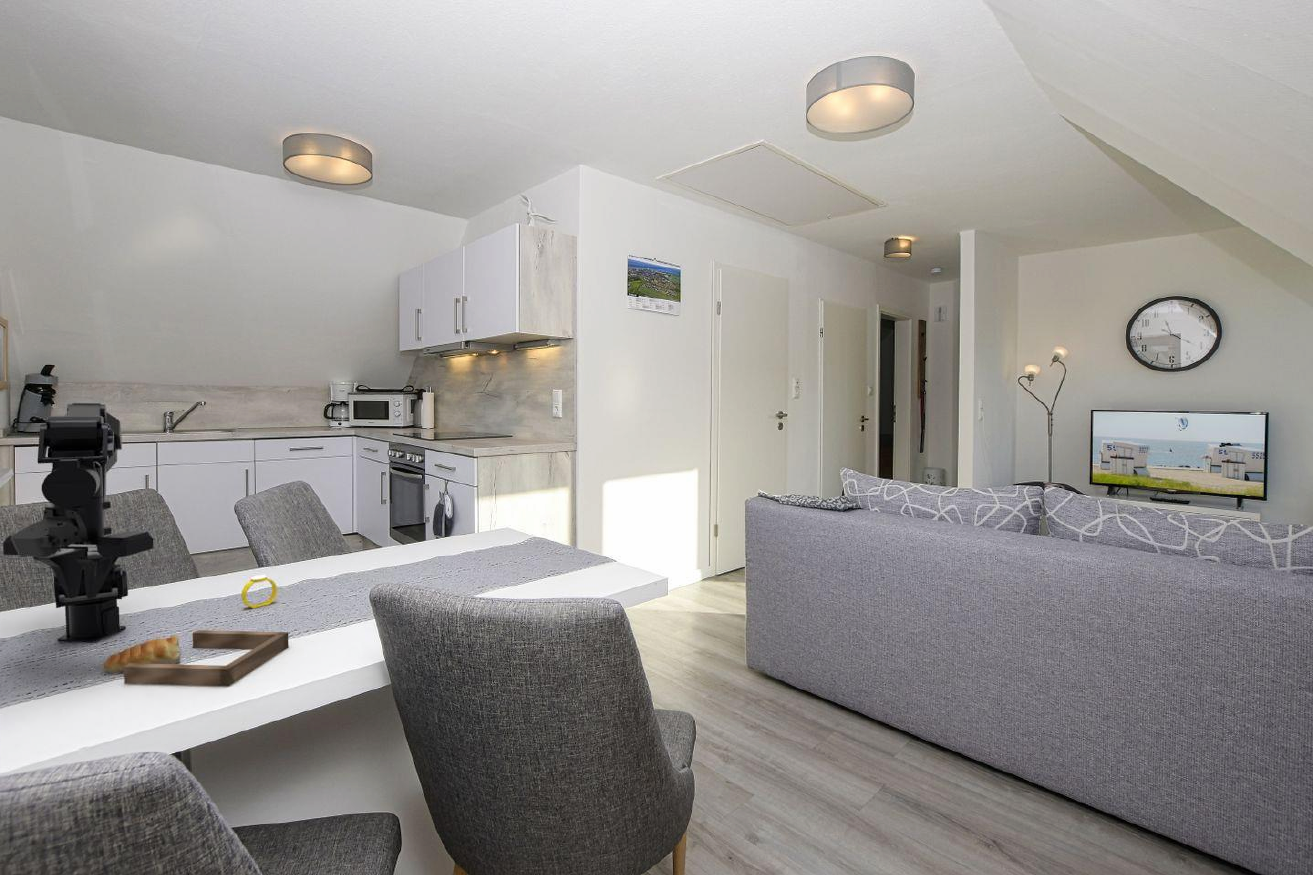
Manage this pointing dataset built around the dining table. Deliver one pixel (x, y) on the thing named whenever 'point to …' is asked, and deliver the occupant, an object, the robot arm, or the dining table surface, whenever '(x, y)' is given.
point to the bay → (212, 675)
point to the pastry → (145, 654)
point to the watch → (254, 580)
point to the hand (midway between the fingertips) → (82, 597)
